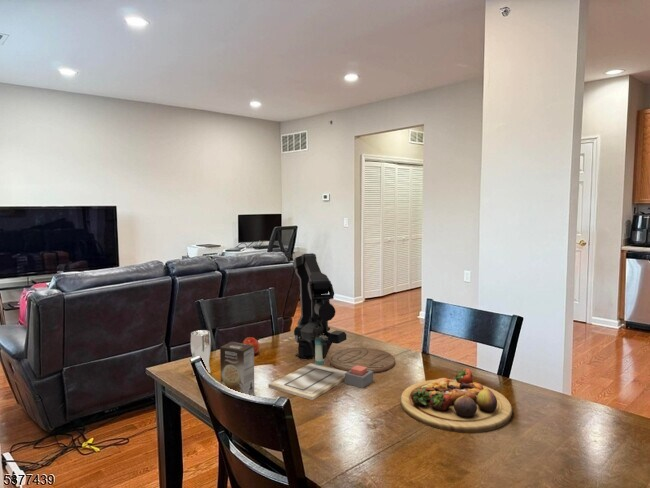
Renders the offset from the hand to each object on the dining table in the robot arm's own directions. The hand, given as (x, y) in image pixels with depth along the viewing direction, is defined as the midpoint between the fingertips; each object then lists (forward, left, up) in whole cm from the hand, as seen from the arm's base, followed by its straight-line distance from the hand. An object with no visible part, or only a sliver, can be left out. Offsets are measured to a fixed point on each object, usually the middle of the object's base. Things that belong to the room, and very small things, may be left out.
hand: (319, 357), depth 157 cm
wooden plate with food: (-3, +47, -8) cm, 47 cm away
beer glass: (+21, -37, -7) cm, 43 cm away
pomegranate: (-4, -37, -7) cm, 38 cm away
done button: (-3, +14, -5) cm, 15 cm away
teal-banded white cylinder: (0, 0, -2) cm, 2 cm away
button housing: (-3, +14, -7) cm, 16 cm away
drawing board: (+5, 0, -7) cm, 9 cm away
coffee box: (+27, -13, -7) cm, 31 cm away
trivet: (-21, +5, -7) cm, 23 cm away
